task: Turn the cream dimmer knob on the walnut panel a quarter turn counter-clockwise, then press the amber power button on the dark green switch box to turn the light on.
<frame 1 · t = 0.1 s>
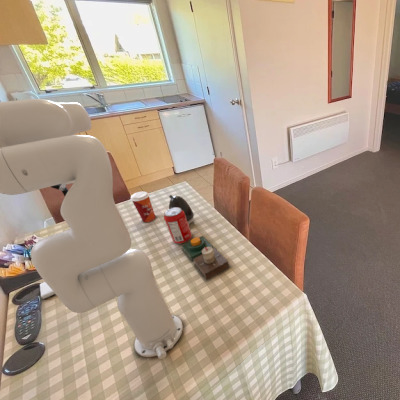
hand: (89, 193, 91), 31 cm above the table, tool pointing down, fingers open, 9 cm apart
paper cup: (149, 219, 133), on the table
soda can: (183, 239, 119), on the table
power button: (195, 241, 110), point 4 cm above the table, slide at 0.1 cm
dimmer knob: (208, 254, 101), point 6 cm above the table, hinge at 0.0°
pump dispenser: (184, 223, 129), on the table
switch box: (198, 250, 112), on the table
dimmer panel: (212, 265, 104), on the table
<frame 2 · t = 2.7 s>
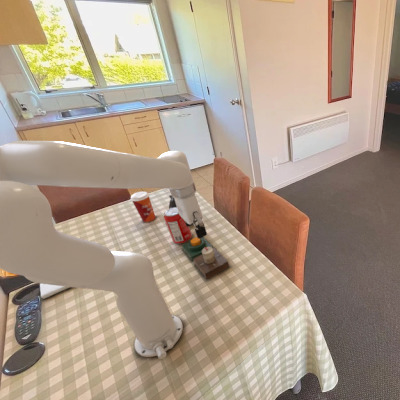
hand: (196, 230, 96), 17 cm above the table, tool pointing down, fingers open, 9 cm apart
nothing on the table moved.
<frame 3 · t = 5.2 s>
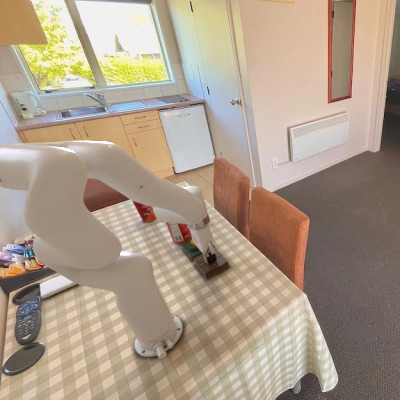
hand: (209, 258, 102), 4 cm above the table, tool pointing down, fingers closed on dimmer knob, 4 cm apart
dimmer knob: (208, 254, 101), point 6 cm above the table, hinge at 0.1°, touching gripper
everything else where it was.
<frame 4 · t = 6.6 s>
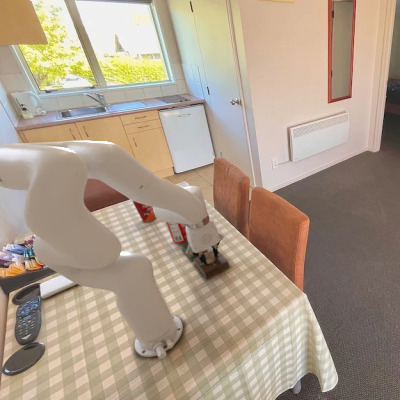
hand: (209, 258, 102), 4 cm above the table, tool pointing down, fingers closed on dimmer knob, 4 cm apart
dimmer knob: (208, 254, 101), point 6 cm above the table, hinge at 90.1°, touching gripper
everything else where it was.
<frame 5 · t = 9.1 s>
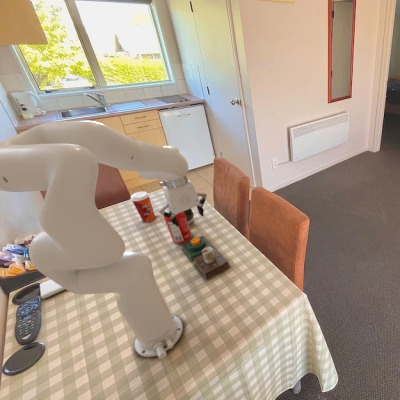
hand: (189, 219, 104), 16 cm above the table, tool pointing down, fingers open, 9 cm apart
dimmer knob: (208, 254, 101), point 6 cm above the table, hinge at 89.6°
everything else where it was.
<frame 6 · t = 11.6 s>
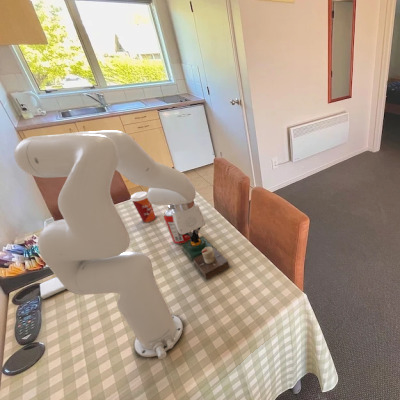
hand: (195, 241, 110), 5 cm above the table, tool pointing down, fingers closed
power button: (196, 243, 110), point 4 cm above the table, slide at -0.6 cm, touching gripper
everything else where it was.
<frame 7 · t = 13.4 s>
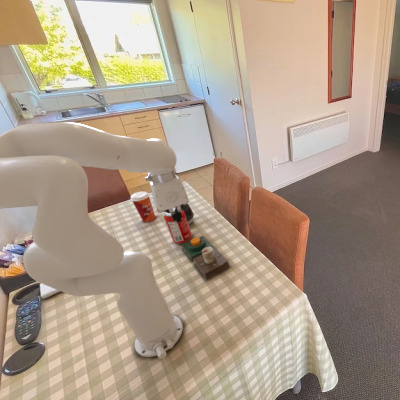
hand: (178, 220, 99), 18 cm above the table, tool pointing down, fingers closed
power button: (195, 241, 110), point 4 cm above the table, slide at 0.1 cm
everything else where it was.
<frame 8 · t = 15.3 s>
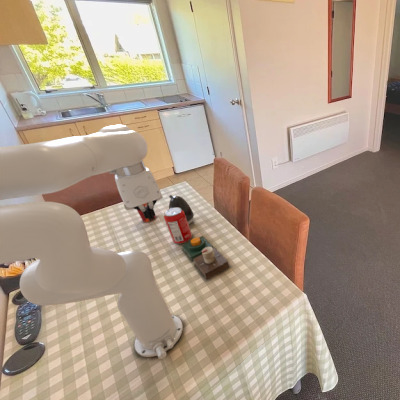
hand: (151, 218, 88), 25 cm above the table, tool pointing down, fingers closed
nothing on the table moved.
at the end: dimmer knob at +90° (first picture: +0°); power button pushed in 1.1 cm at the most during the clip, back to where it started at the end; power button slide at 0.1 cm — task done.
